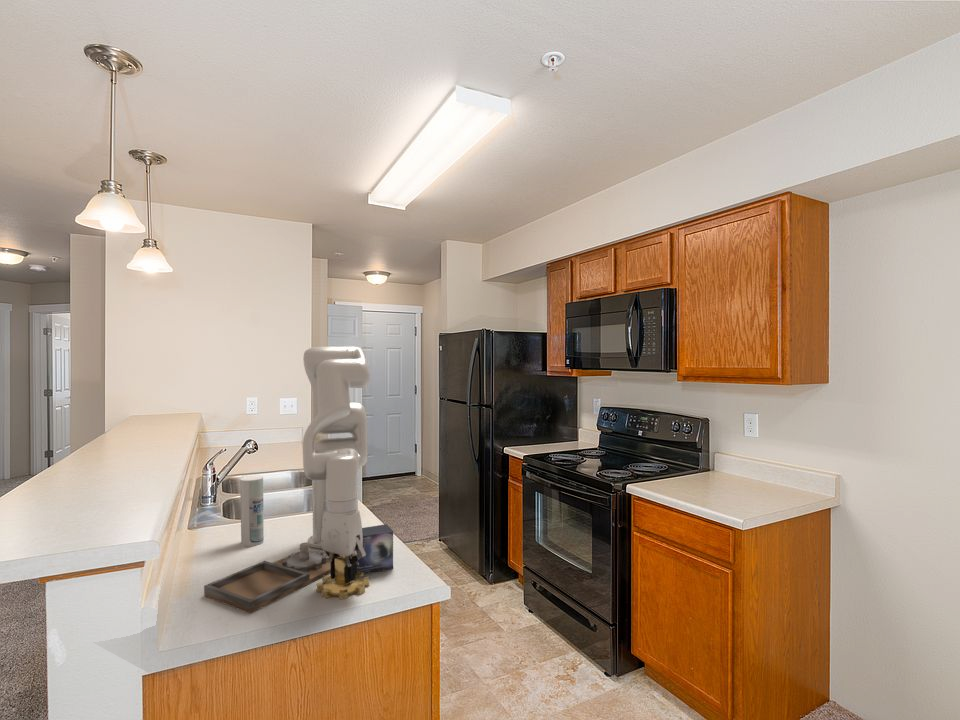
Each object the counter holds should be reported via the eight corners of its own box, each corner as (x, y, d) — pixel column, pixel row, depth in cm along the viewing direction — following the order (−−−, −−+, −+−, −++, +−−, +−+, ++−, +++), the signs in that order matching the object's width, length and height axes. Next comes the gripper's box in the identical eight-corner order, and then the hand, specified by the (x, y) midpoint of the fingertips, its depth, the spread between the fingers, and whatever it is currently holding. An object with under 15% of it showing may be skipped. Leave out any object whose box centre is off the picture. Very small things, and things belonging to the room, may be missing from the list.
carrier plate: (300, 554, 150) (300, 532, 149) (344, 566, 141) (343, 542, 141) (204, 596, 124) (203, 569, 124) (250, 613, 116) (249, 584, 116)
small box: (354, 577, 134) (354, 537, 134) (348, 568, 140) (348, 529, 140) (394, 569, 139) (394, 530, 139) (387, 560, 145) (386, 523, 145)
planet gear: (343, 572, 137) (342, 544, 137) (379, 582, 131) (379, 553, 131) (306, 591, 126) (305, 561, 126) (343, 603, 120) (343, 571, 120)
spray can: (251, 538, 163) (250, 474, 163) (268, 540, 161) (267, 476, 161) (236, 545, 157) (235, 479, 157) (253, 547, 155) (252, 481, 155)
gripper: (306, 504, 129) (307, 577, 129) (357, 514, 121) (358, 592, 121) (329, 496, 136) (330, 566, 136) (378, 505, 127) (379, 580, 128)
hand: (343, 578), depth 128 cm, fingers closed on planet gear, 4 cm apart
